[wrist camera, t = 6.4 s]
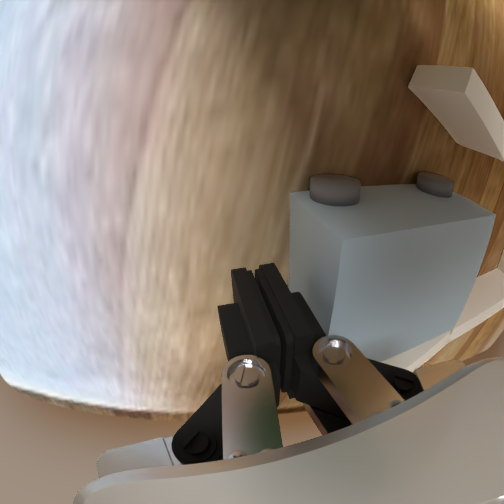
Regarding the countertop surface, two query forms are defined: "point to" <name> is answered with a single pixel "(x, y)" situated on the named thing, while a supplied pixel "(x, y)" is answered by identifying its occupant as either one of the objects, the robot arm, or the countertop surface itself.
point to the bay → (476, 138)
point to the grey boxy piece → (385, 258)
